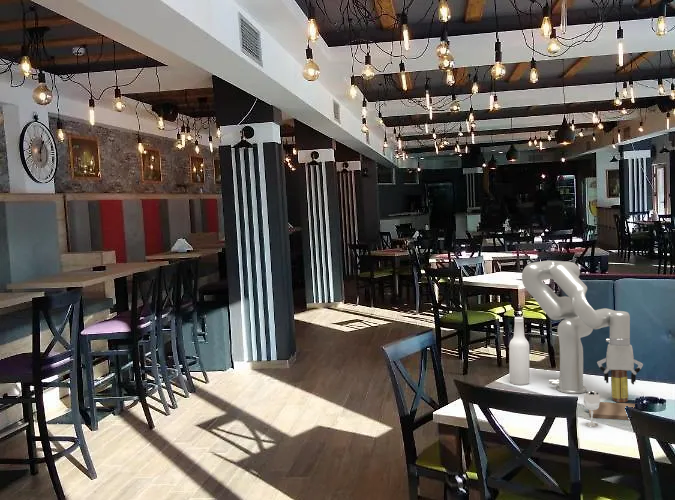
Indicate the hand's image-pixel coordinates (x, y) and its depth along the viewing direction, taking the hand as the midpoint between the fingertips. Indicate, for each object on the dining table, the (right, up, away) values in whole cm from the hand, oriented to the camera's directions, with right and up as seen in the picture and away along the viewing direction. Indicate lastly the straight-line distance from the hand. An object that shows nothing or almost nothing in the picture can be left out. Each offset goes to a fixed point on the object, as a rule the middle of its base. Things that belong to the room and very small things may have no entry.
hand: (619, 382), depth 272 cm
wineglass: (-21, -11, -26) cm, 35 cm away
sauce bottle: (0, -8, +1) cm, 8 cm away
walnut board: (-7, -9, -14) cm, 18 cm away
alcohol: (-33, -6, +30) cm, 45 cm away
